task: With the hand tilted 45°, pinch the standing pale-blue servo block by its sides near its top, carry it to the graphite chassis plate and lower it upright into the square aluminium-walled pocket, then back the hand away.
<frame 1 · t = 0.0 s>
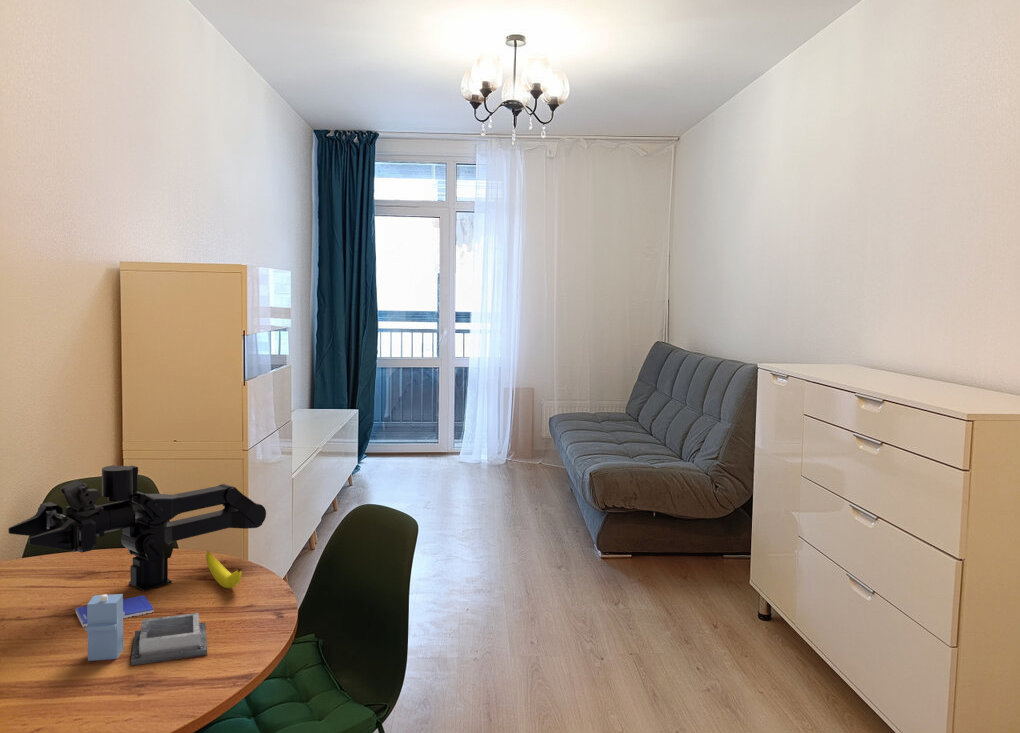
hand: (18, 535, 144), 17 cm above the table, tool horizontal, fingers open, 9 cm apart
hard drive: (114, 616, 150), on the table
banana: (223, 585, 167), on the table
chassis: (170, 645, 137), on the table
servo: (105, 654, 133), on the table
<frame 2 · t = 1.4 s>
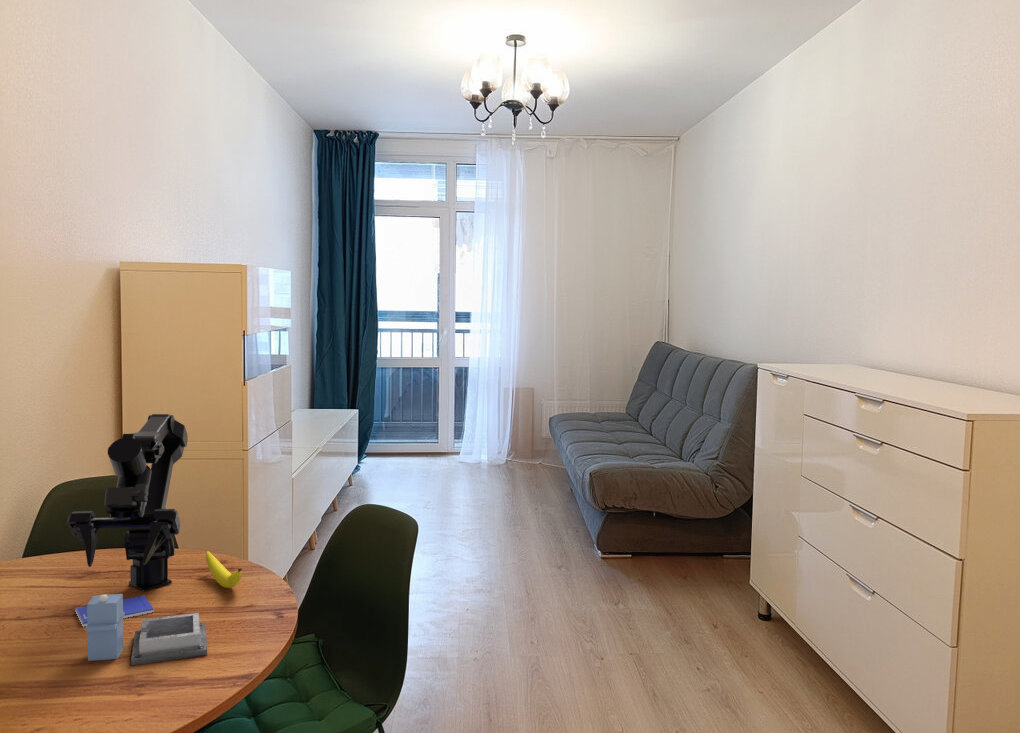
hand: (116, 564, 139), 13 cm above the table, tool tilted 45°, fingers open, 9 cm apart
nothing on the table moved.
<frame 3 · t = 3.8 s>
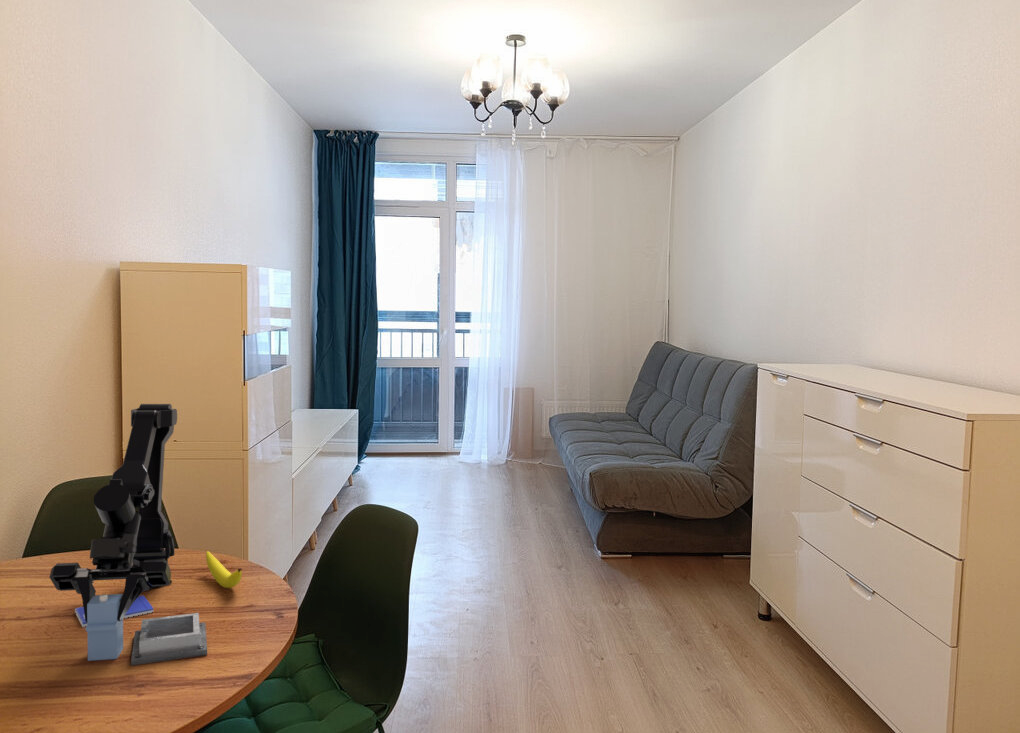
hand: (103, 621, 131), 7 cm above the table, tool tilted 45°, fingers closed on servo, 5 cm apart
servo: (105, 654, 133), on the table, touching gripper
everything else where it was.
when the fingers open (9 cm above the table, at t = 7.0 s): servo drops 1 cm, resting on chassis.
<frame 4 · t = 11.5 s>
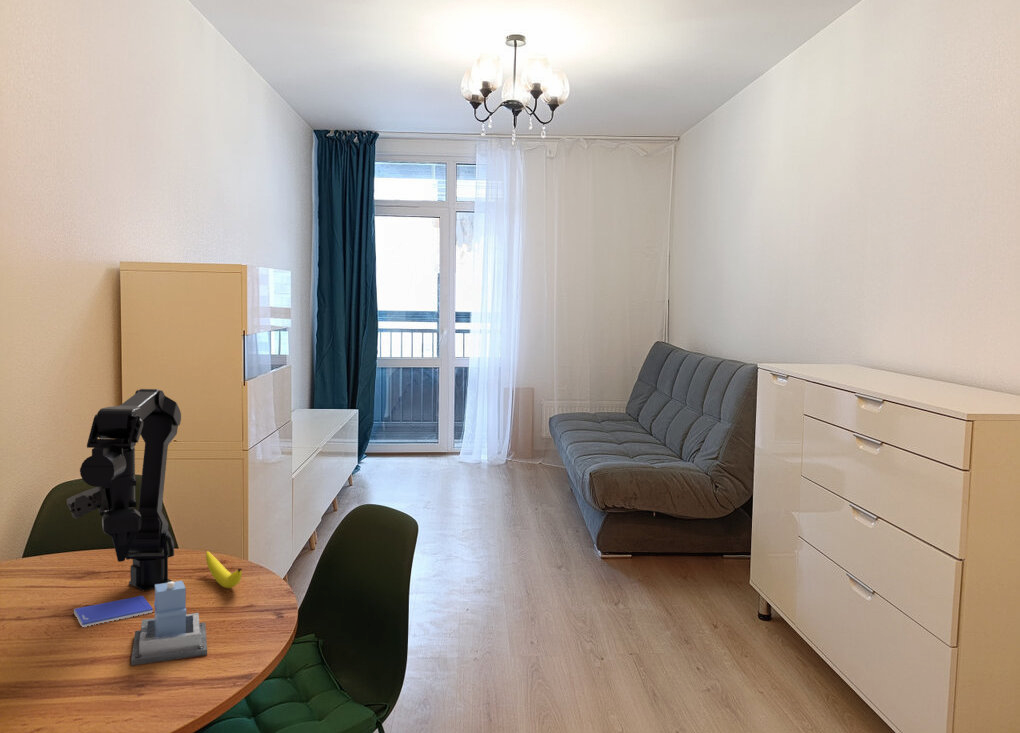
hand: (119, 553, 146), 13 cm above the table, tool pointing down, fingers open, 9 cm apart
servo: (170, 640, 137), point 1 cm above the table, touching chassis
everything else where it was.
at the end: servo 0.1 cm off-centre on the chassis, point 1.0 cm above the chassis's base; servo tilted 0°; the gripper is holding nothing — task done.
